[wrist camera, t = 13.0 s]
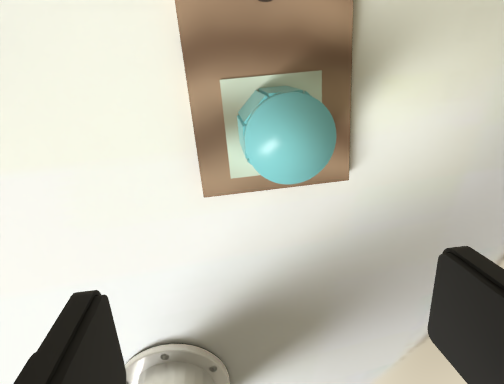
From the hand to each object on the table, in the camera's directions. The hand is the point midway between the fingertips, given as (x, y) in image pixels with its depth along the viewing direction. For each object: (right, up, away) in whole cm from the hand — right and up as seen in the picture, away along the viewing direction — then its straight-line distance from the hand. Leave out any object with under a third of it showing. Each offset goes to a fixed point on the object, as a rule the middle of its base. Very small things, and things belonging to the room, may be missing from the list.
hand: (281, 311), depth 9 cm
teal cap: (+1, +9, +18) cm, 20 cm away
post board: (0, +14, +17) cm, 22 cm away
